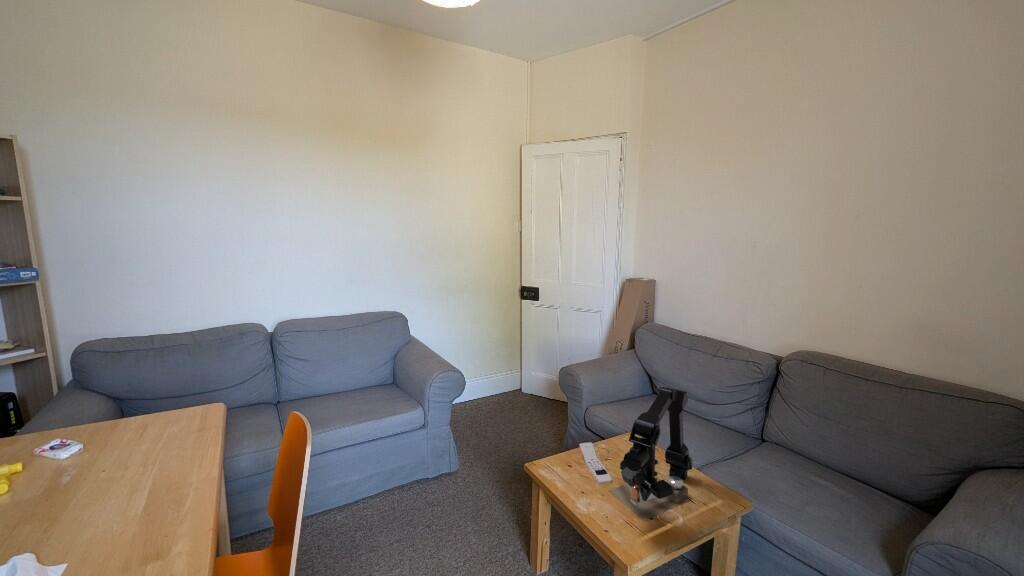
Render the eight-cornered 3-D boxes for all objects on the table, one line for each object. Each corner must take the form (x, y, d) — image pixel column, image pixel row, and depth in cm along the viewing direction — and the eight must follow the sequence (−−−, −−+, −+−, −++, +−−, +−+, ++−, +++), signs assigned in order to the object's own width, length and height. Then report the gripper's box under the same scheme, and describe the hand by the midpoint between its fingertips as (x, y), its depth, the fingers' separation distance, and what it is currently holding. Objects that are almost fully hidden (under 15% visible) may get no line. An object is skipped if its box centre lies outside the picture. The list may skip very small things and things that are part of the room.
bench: (651, 477, 163) (652, 464, 162) (689, 503, 147) (690, 489, 147) (607, 494, 153) (608, 481, 152) (643, 525, 137) (644, 509, 137)
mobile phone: (591, 441, 180) (615, 474, 156) (591, 454, 181) (615, 489, 157) (578, 443, 179) (600, 476, 155) (578, 455, 180) (600, 491, 156)
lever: (674, 479, 152) (675, 464, 151) (685, 486, 148) (686, 471, 147) (626, 499, 142) (627, 483, 141) (637, 507, 137) (637, 491, 136)
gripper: (607, 448, 139) (607, 491, 141) (647, 478, 122) (645, 526, 124) (633, 441, 143) (632, 482, 146) (675, 468, 127) (673, 515, 129)
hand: (644, 500), depth 136 cm, fingers closed
